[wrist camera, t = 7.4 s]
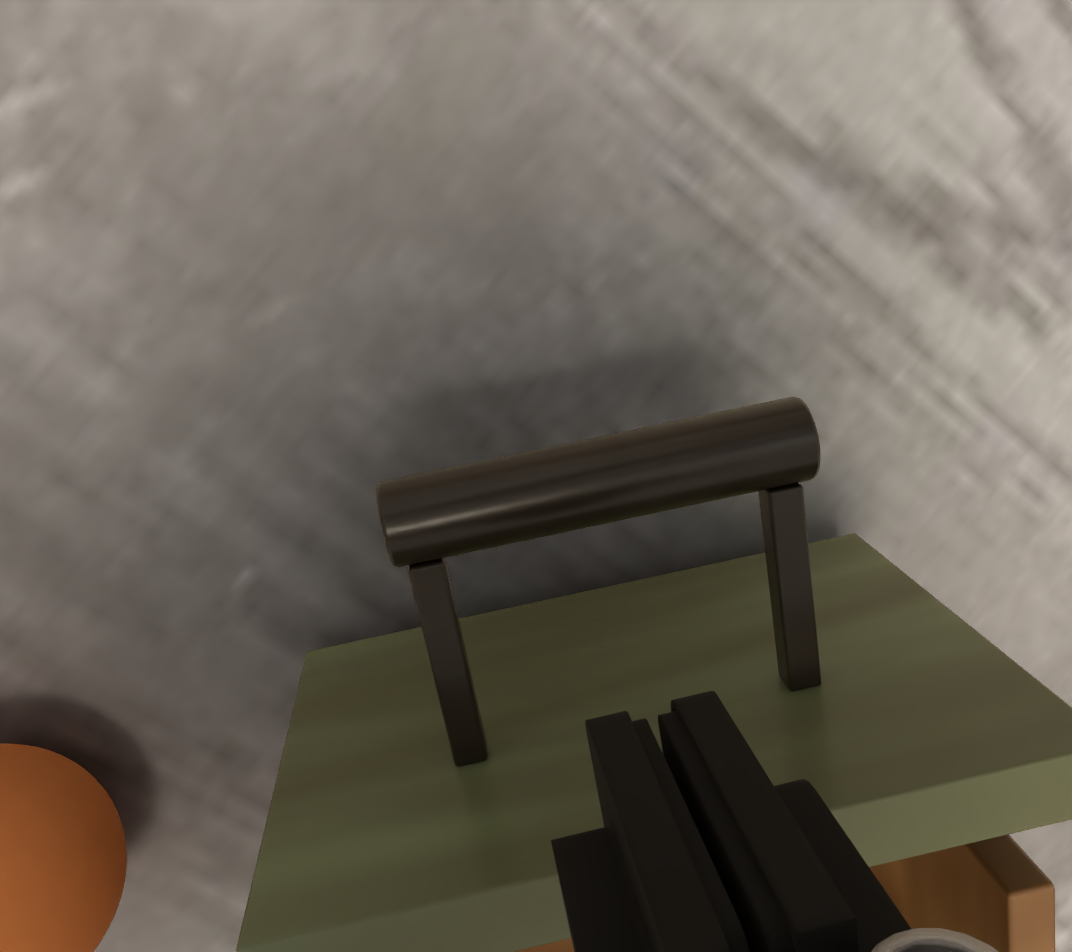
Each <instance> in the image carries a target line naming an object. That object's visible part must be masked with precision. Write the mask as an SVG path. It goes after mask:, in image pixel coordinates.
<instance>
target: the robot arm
mask: <svg viewBox="0 0 1072 952" xmlns="http://www.w3.org/2000/svg"><path fill="white" fill-rule="evenodd" d="M658 725H659V732H660V738H661V744H662V751H663V753H662V751H661V749H660V747H659V744H658V742H657V740H656V738H655V736H654V734H653V731H652V729H651V727H650V725H649V723H648V721H647V719H646V718H644V719H639V720H635V721H632V720H631V718H630V715H629V714H628V712H627V711H622V712H618V713H614V714H609V715H605V716H601V717H597V718H592V719H588V720H585V726H586V733H587V738H588V744H589V749H590V754H591V759H592V765H593V770H594V775H595V781H596V786H597V791H598V797H599V802H600V807H601V812H602V818H603V823H604V827H603V828H599V829H595V830H591V831H586V832H582V833H578V834H574V835H570V836H566V837H562V838H558V839H553V840H551V844H552V849H553V854H554V858H555V863H556V868H557V873H558V877H559V882H560V887H561V892H562V896H563V901H564V906H565V910H566V915H567V920H568V924H569V929H570V934H571V938H572V943H573V947H574V952H998V951H997V950H995V949H994V948H993V947H992V946H990V945H989V944H987V943H984V942H982V941H980V940H978V939H976V938H974V937H971V936H969V935H967V934H964V933H960V932H955V931H951V930H946V929H942V928H915V929H911V927H910V926H909V925H908V923H907V922H906V920H905V919H904V917H903V916H902V914H901V913H900V911H899V910H898V909H897V907H896V906H895V904H894V903H893V901H892V900H891V898H890V897H889V896H888V894H887V893H886V891H885V890H884V888H883V887H882V885H881V884H880V882H879V881H878V880H877V878H876V877H875V875H874V874H873V872H872V871H871V869H870V868H869V866H868V865H867V864H866V862H865V861H864V859H863V858H862V856H861V855H860V853H859V852H858V850H857V849H856V848H855V846H854V845H853V843H852V842H851V840H850V839H849V837H848V836H847V834H846V833H845V832H844V830H843V829H842V827H841V826H840V824H839V823H838V821H837V820H836V818H835V817H834V816H833V814H832V813H831V811H830V810H829V808H828V807H827V805H826V804H825V802H824V801H823V800H822V798H821V797H820V795H819V794H818V792H817V791H816V789H815V788H814V787H813V786H812V785H811V783H810V782H809V781H807V780H805V779H801V780H797V781H792V782H788V783H784V784H780V785H776V786H774V785H773V784H772V782H771V780H770V779H769V777H768V776H767V774H766V772H765V771H764V769H763V768H762V766H761V764H760V763H759V761H758V760H757V758H756V756H755V755H754V753H753V752H752V750H751V748H750V747H749V745H748V744H747V742H746V740H745V739H744V737H743V735H742V734H741V732H740V731H739V729H738V727H737V726H736V724H735V723H734V721H733V719H732V718H731V716H730V715H729V713H728V711H727V710H726V708H725V707H724V705H723V703H722V702H721V700H720V698H719V697H718V695H717V694H716V693H715V691H708V692H704V693H699V694H695V695H691V696H686V697H682V698H678V699H674V700H671V712H669V713H665V714H661V715H658Z"/></svg>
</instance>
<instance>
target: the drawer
mask: <svg viewBox="0 0 1072 952" xmlns="http://www.w3.org/2000/svg"><path fill="white" fill-rule="evenodd" d="M819 467H820V444H819V437H818V433H817V429H816V425H815V422H814V420H813V417H812V415H811V413H810V411H809V409H808V407H807V406H806V404H805V403H804V402H803V401H802V400H801V399H800V398H796V397H789V398H784V399H779V400H774V401H770V402H765V403H760V404H755V405H750V406H745V407H741V408H736V409H731V410H726V411H721V412H716V413H712V414H707V415H702V416H697V417H692V418H687V419H683V420H678V421H673V422H668V423H663V424H658V425H653V426H649V427H644V428H639V429H634V430H629V431H624V432H620V433H615V434H610V435H605V436H600V437H595V438H591V439H586V440H581V441H576V442H571V443H566V444H561V445H557V446H552V447H547V448H542V449H537V450H532V451H528V452H523V453H518V454H513V455H508V456H503V457H499V458H494V459H489V460H484V461H479V462H474V463H469V464H465V465H460V466H455V467H450V468H445V469H440V470H436V471H431V472H426V473H421V474H416V475H411V476H407V477H402V478H397V479H392V480H387V481H382V482H380V483H379V484H378V485H377V491H376V494H377V505H378V512H379V518H380V523H381V528H382V533H383V537H384V541H385V545H386V548H387V552H388V555H389V558H390V560H391V562H392V563H393V565H394V566H395V567H403V566H408V574H409V578H410V582H411V586H412V590H413V595H414V599H415V603H416V607H417V611H418V615H419V619H420V624H421V627H418V628H414V629H409V630H404V631H400V632H395V633H390V634H386V635H381V636H377V637H372V638H367V639H363V640H358V641H353V642H349V643H344V644H339V645H335V646H330V647H326V648H321V649H316V650H312V651H308V652H307V653H306V657H305V661H304V666H303V670H302V674H301V678H300V682H299V687H298V691H297V695H296V699H295V704H294V708H293V712H292V716H291V720H290V725H289V729H288V733H287V737H286V741H285V746H284V750H283V754H282V758H281V763H280V767H279V771H278V775H277V779H276V784H275V788H274V792H273V796H272V800H271V805H270V809H269V813H268V817H267V822H266V826H265V830H264V834H263V838H262V843H261V847H260V851H259V855H258V860H257V864H256V868H255V872H254V876H253V881H252V885H251V889H250V893H249V897H248V902H247V906H246V910H245V914H244V919H243V923H242V927H241V931H240V935H239V940H238V944H237V949H236V950H237V952H574V947H573V943H572V938H571V934H570V929H569V924H568V920H567V915H566V910H565V906H564V901H563V896H562V892H561V887H560V882H559V877H558V873H557V868H556V863H555V858H554V854H553V849H552V844H551V840H553V839H558V838H562V837H566V836H570V835H574V834H578V833H582V832H586V831H591V830H595V829H599V828H603V827H604V823H603V818H602V812H601V807H600V802H599V797H598V791H597V786H596V781H595V775H594V770H593V765H592V759H591V754H590V749H589V744H588V738H587V733H586V726H585V720H588V719H592V718H597V717H601V716H605V715H609V714H614V713H618V712H622V711H627V712H628V714H629V715H630V718H631V720H632V721H635V720H639V719H644V718H646V719H647V721H648V723H649V725H650V727H651V729H652V731H653V734H654V736H655V738H656V740H657V742H658V744H659V747H660V749H661V751H662V744H661V738H660V732H659V725H658V715H661V714H665V713H669V712H671V700H674V699H678V698H682V697H686V696H691V695H695V694H699V693H704V692H708V691H715V693H716V694H717V695H718V697H719V698H720V700H721V702H722V703H723V705H724V707H725V708H726V710H727V711H728V713H729V715H730V716H731V718H732V719H733V721H734V723H735V724H736V726H737V727H738V729H739V731H740V732H741V734H742V735H743V737H744V739H745V740H746V742H747V744H748V745H749V747H750V748H751V750H752V752H753V753H754V755H755V756H756V758H757V760H758V761H759V763H760V764H761V766H762V768H763V769H764V771H765V772H766V774H767V776H768V777H769V779H770V780H771V782H772V784H773V785H774V786H776V785H780V784H784V783H788V782H792V781H797V780H801V779H805V780H807V781H809V782H810V783H811V785H812V786H813V787H814V788H815V789H816V791H817V792H818V794H819V795H820V797H821V798H822V800H823V801H824V802H825V804H826V805H827V807H828V808H829V810H830V811H831V813H832V814H833V816H834V817H835V818H836V820H837V821H838V823H839V824H840V826H841V827H842V829H843V830H844V832H845V833H846V834H847V836H848V837H849V839H850V840H851V842H852V843H853V845H854V846H855V848H856V849H857V850H858V852H859V853H860V855H861V856H862V858H863V859H864V861H865V862H866V864H867V865H868V866H869V868H870V869H871V871H872V872H873V874H874V875H875V877H876V878H877V880H878V881H879V882H880V884H881V885H882V887H883V888H884V890H885V891H886V893H887V894H888V896H889V897H890V898H891V900H892V901H893V903H894V904H895V906H896V907H897V909H898V910H899V911H900V913H901V914H902V916H903V917H904V919H905V920H906V922H907V923H908V925H909V926H910V927H911V929H915V928H942V929H946V930H951V931H955V932H960V933H964V934H967V935H969V936H971V937H974V938H976V939H978V940H980V941H982V942H984V943H987V944H989V945H990V946H992V947H993V948H994V949H995V950H997V951H998V952H1055V889H1054V885H1053V884H1052V882H1051V881H1050V880H1049V879H1048V877H1047V876H1046V875H1045V874H1044V873H1043V872H1042V871H1041V870H1040V869H1039V868H1038V866H1037V865H1036V864H1035V863H1034V862H1033V861H1032V860H1031V859H1030V858H1029V856H1028V855H1027V854H1026V853H1025V852H1024V851H1023V850H1022V849H1021V848H1020V847H1019V845H1018V844H1017V843H1016V842H1015V841H1014V840H1013V839H1012V838H1011V837H1010V835H1009V834H1012V833H1016V832H1020V831H1024V830H1028V829H1033V828H1037V827H1041V826H1045V825H1049V824H1054V823H1058V822H1062V821H1066V820H1070V819H1072V707H1070V706H1069V705H1068V704H1067V703H1065V702H1064V701H1063V700H1062V699H1060V698H1059V697H1058V696H1057V695H1055V694H1054V693H1053V692H1052V691H1050V690H1049V689H1048V688H1047V687H1046V686H1044V685H1043V684H1042V683H1041V682H1039V681H1038V680H1037V679H1036V678H1034V677H1033V676H1032V675H1031V674H1029V673H1028V672H1027V671H1026V670H1024V669H1023V668H1022V667H1021V666H1019V665H1018V664H1017V663H1016V662H1014V661H1013V660H1012V659H1011V658H1009V657H1008V656H1007V655H1006V654H1004V653H1003V652H1002V651H1001V650H1000V649H998V648H997V647H996V646H995V645H993V644H992V643H991V642H990V641H988V640H987V639H986V638H985V637H983V636H982V635H981V634H980V633H978V632H977V631H976V630H975V629H973V628H972V627H971V626H970V625H968V624H967V623H966V622H965V621H963V620H962V619H961V618H960V617H958V616H957V615H956V614H955V613H954V612H952V611H951V610H950V609H949V608H947V607H946V606H945V605H944V604H942V603H941V602H940V601H939V600H937V599H936V598H935V597H934V596H932V595H931V594H930V593H929V592H927V591H926V590H925V589H924V588H922V587H921V586H920V585H919V584H917V583H916V582H915V581H914V580H912V579H911V578H910V577H909V576H908V575H906V574H905V573H904V572H903V571H901V570H900V569H899V568H898V567H896V566H895V565H894V564H893V563H891V562H890V561H889V560H888V559H886V558H885V557H884V556H883V555H881V554H880V553H879V552H878V551H876V550H875V549H874V548H873V547H871V546H870V545H869V544H868V543H866V542H865V541H864V540H863V539H862V538H860V537H859V536H858V535H857V534H854V533H853V534H848V535H844V536H839V537H835V538H830V539H825V540H821V541H816V542H811V543H808V535H807V525H806V514H805V504H804V493H803V487H802V485H801V484H799V482H804V481H808V480H811V479H813V478H814V477H815V476H816V475H817V473H818V471H819ZM756 491H759V500H760V509H761V518H762V528H763V537H764V546H765V553H761V554H756V555H751V556H747V557H742V558H737V559H733V560H728V561H724V562H719V563H714V564H710V565H705V566H700V567H696V568H691V569H687V570H682V571H677V572H673V573H668V574H663V575H659V576H654V577H649V578H645V579H640V580H636V581H631V582H626V583H622V584H617V585H612V586H608V587H603V588H599V589H594V590H589V591H585V592H580V593H575V594H571V595H566V596H562V597H557V598H552V599H548V600H543V601H538V602H534V603H529V604H525V605H520V606H515V607H511V608H506V609H501V610H497V611H492V612H488V613H483V614H478V615H474V616H469V617H464V618H460V619H459V618H458V613H457V609H456V604H455V600H454V596H453V591H452V587H451V582H450V578H449V574H448V569H447V565H446V560H445V557H450V556H455V555H459V554H464V553H469V552H474V551H478V550H483V549H488V548H492V547H497V546H502V545H507V544H511V543H516V542H521V541H525V540H530V539H535V538H540V537H544V536H549V535H554V534H558V533H563V532H568V531H573V530H577V529H582V528H587V527H591V526H596V525H601V524H606V523H610V522H615V521H620V520H624V519H629V518H634V517H639V516H643V515H648V514H653V513H657V512H662V511H667V510H672V509H676V508H681V507H686V506H690V505H695V504H700V503H705V502H709V501H714V500H719V499H723V498H728V497H733V496H738V495H742V494H747V493H752V492H756ZM662 753H663V751H662Z"/></svg>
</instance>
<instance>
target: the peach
mask: <svg viewBox="0 0 1072 952" xmlns="http://www.w3.org/2000/svg"><path fill="white" fill-rule="evenodd" d="M126 863H127V852H126V842H125V835H124V830H123V826H122V823H121V820H120V817H119V814H118V812H117V810H116V808H115V805H114V803H113V801H112V800H111V798H110V797H109V795H108V794H107V792H106V791H105V789H104V788H103V787H102V786H101V785H100V784H99V782H98V781H97V780H96V779H95V778H94V777H93V776H92V775H91V774H90V773H89V772H87V771H86V770H85V769H84V768H83V767H81V766H80V765H78V764H77V763H75V762H74V761H72V760H70V759H68V758H66V757H64V756H63V755H60V754H58V753H55V752H53V751H50V750H47V749H43V748H39V747H35V746H29V745H23V744H6V743H0V952H93V951H94V950H95V949H96V947H97V946H98V944H99V943H100V942H101V940H102V938H103V936H104V935H105V933H106V931H107V929H108V928H109V926H110V924H111V922H112V920H113V918H114V915H115V913H116V910H117V907H118V905H119V902H120V898H121V895H122V892H123V887H124V882H125V875H126Z"/></svg>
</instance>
